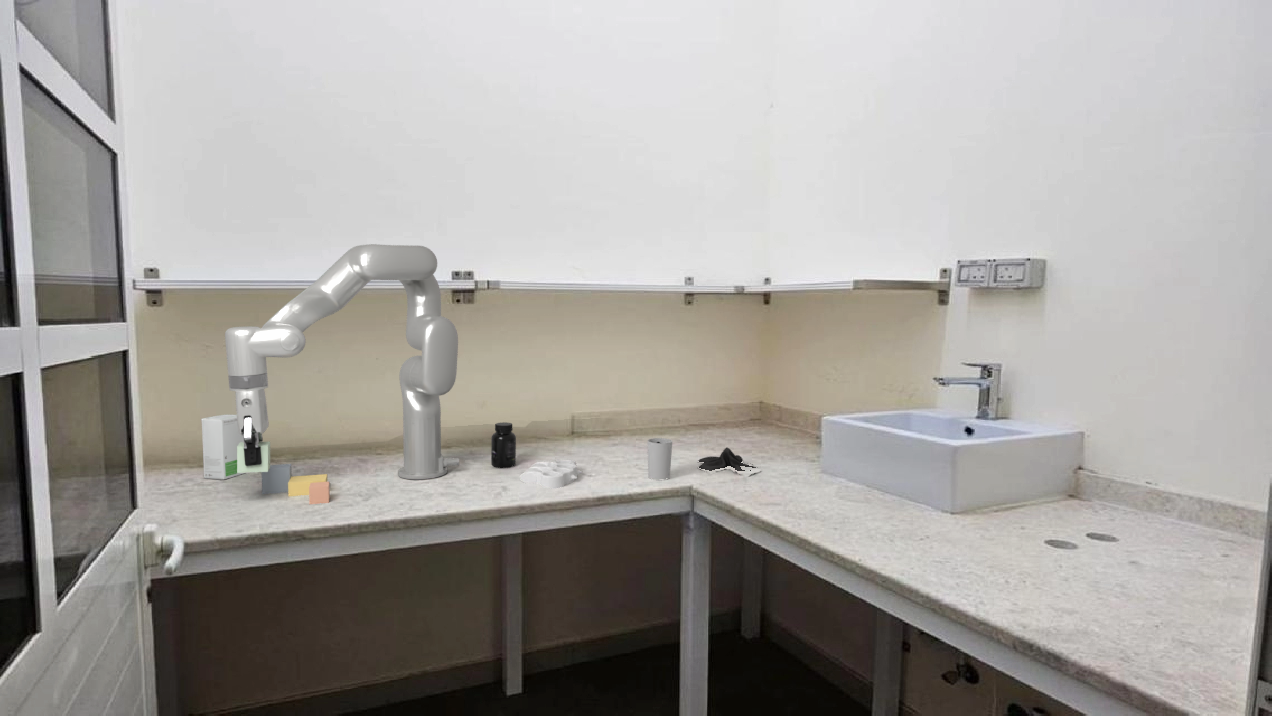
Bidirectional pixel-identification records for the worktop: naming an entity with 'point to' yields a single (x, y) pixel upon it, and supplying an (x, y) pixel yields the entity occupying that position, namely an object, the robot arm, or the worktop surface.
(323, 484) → the terracotta cube
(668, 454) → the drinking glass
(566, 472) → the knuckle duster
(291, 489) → the ochre block
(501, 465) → the supplement bottle
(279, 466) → the slate block
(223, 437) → the skincare box
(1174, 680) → the worktop surface
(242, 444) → the sage block
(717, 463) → the cloth
